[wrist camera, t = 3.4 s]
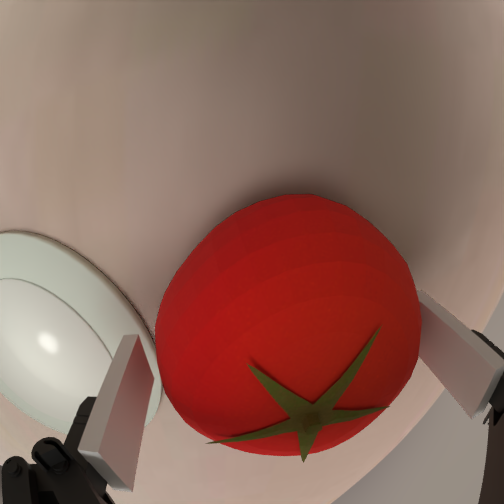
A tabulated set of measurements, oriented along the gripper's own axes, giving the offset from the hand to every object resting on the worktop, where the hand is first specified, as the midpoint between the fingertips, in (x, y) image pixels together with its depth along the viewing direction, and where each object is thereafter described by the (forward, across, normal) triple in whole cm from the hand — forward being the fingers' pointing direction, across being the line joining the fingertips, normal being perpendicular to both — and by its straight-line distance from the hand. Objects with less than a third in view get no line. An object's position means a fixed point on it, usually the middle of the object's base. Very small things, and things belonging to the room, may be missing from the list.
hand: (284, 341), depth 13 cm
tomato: (+6, 0, 0) cm, 6 cm away
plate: (+5, -18, -4) cm, 19 cm away
